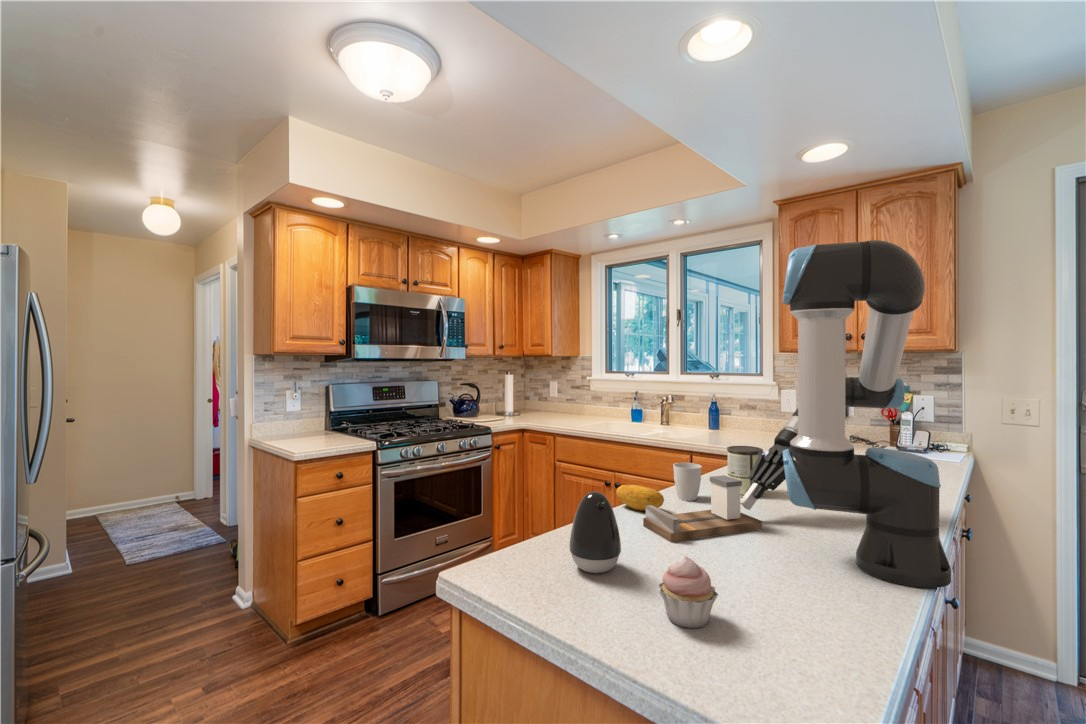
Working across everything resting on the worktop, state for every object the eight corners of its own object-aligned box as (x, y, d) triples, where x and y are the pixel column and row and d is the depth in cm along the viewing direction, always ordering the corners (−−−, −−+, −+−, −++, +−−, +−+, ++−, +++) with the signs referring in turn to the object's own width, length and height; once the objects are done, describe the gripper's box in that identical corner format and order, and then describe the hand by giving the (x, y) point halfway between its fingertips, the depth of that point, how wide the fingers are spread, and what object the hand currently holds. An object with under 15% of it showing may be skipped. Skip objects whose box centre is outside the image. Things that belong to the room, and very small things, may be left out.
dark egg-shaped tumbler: (579, 582, 94) (579, 500, 94) (563, 561, 104) (562, 487, 104) (630, 576, 97) (630, 496, 97) (608, 555, 107) (608, 484, 107)
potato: (652, 518, 133) (652, 492, 132) (611, 507, 142) (611, 483, 142) (669, 511, 138) (669, 486, 138) (628, 501, 148) (628, 478, 148)
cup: (698, 495, 154) (698, 462, 154) (704, 503, 146) (704, 468, 146) (671, 494, 155) (671, 462, 155) (675, 502, 147) (675, 468, 147)
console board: (728, 515, 135) (728, 496, 135) (762, 529, 123) (762, 508, 123) (643, 525, 126) (643, 505, 126) (670, 542, 115) (670, 520, 115)
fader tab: (724, 510, 131) (724, 475, 131) (741, 518, 125) (741, 480, 125) (709, 512, 129) (709, 476, 129) (726, 520, 123) (726, 482, 123)
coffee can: (730, 488, 163) (730, 444, 163) (765, 492, 158) (765, 447, 158) (723, 495, 154) (723, 449, 154) (759, 500, 149) (759, 452, 149)
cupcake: (681, 599, 87) (681, 541, 87) (729, 621, 80) (729, 558, 80) (644, 615, 82) (644, 554, 82) (693, 641, 74) (692, 573, 74)
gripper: (823, 450, 130) (771, 522, 124) (783, 442, 142) (735, 508, 136) (807, 431, 128) (754, 503, 122) (768, 425, 140) (719, 490, 135)
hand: (744, 506), depth 129 cm, fingers closed
